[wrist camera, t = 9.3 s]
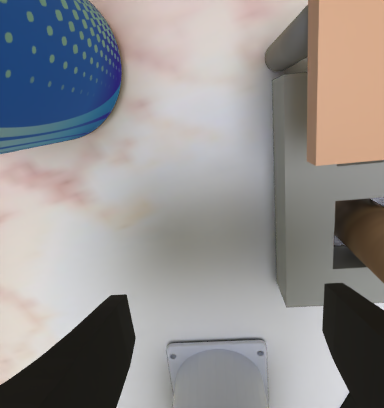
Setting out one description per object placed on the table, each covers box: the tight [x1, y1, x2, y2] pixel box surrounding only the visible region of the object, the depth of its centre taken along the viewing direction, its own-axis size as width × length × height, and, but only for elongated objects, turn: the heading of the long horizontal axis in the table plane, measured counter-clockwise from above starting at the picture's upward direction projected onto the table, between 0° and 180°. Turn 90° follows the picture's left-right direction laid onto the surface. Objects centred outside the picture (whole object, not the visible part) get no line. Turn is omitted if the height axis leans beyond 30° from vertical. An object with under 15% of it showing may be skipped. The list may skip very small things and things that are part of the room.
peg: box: [334, 198, 384, 283], centre depth 17 cm, size 3×3×7 cm
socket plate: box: [272, 72, 384, 307], centre depth 18 cm, size 14×10×3 cm
